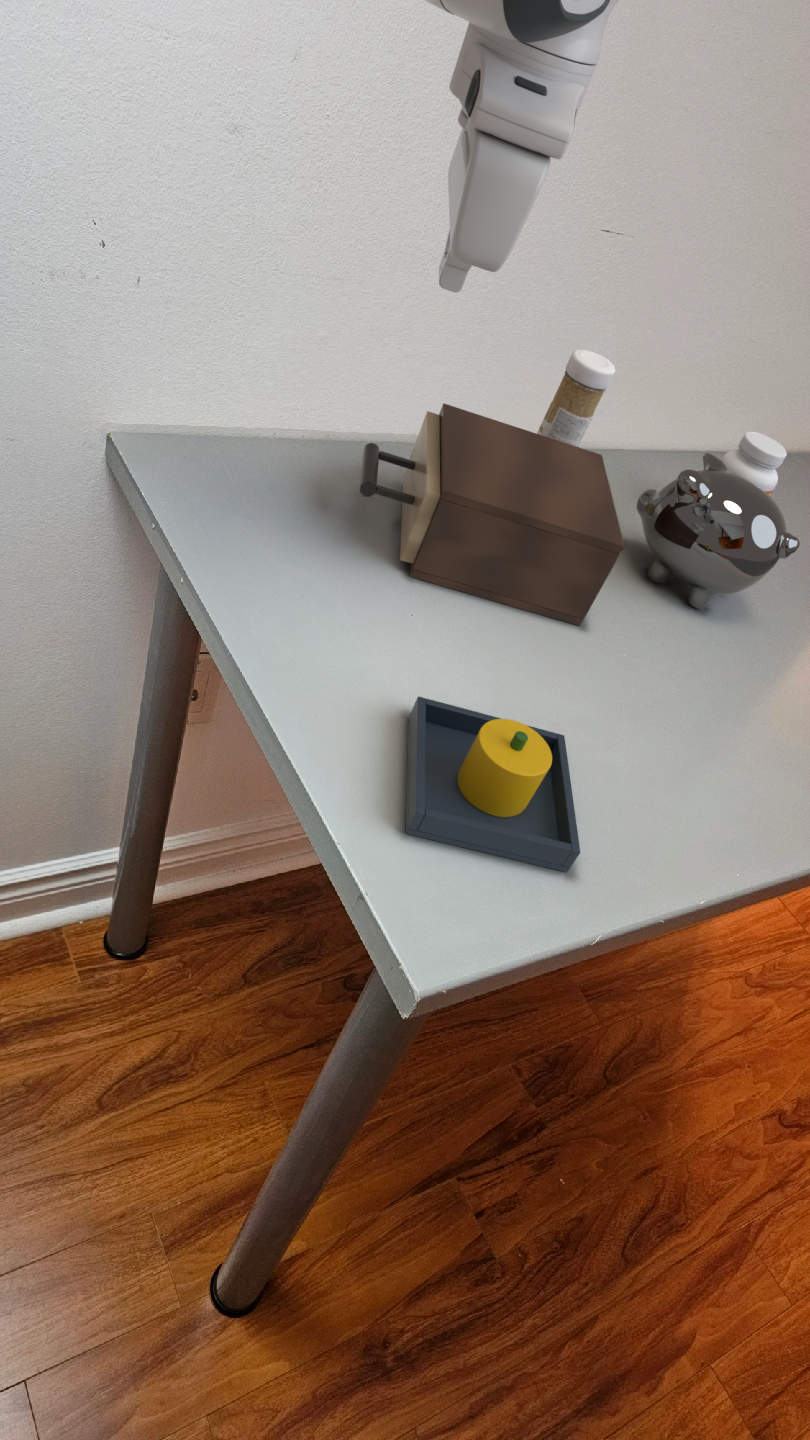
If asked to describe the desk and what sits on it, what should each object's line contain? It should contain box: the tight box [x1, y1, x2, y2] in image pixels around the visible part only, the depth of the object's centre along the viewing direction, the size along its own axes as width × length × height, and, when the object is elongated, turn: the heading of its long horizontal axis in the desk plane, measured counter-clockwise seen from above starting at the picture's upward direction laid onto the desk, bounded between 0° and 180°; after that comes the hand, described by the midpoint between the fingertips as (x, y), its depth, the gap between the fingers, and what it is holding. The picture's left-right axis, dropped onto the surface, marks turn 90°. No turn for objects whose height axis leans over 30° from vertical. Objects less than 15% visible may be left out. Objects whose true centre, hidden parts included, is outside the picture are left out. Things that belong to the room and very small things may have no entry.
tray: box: [405, 695, 581, 873], centre depth 72 cm, size 11×11×2 cm
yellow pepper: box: [457, 718, 552, 817], centre depth 70 cm, size 5×5×5 cm
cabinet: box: [409, 402, 625, 626], centre depth 93 cm, size 16×16×9 cm
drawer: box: [359, 410, 442, 564], centre depth 92 cm, size 19×14×7 cm
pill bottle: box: [720, 430, 788, 497], centre depth 110 cm, size 6×6×11 cm
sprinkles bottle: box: [536, 348, 616, 447], centre depth 105 cm, size 5×5×14 cm
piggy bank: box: [635, 452, 801, 610], centre depth 100 cm, size 11×15×12 cm
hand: (448, 283), depth 80 cm, fingers closed
